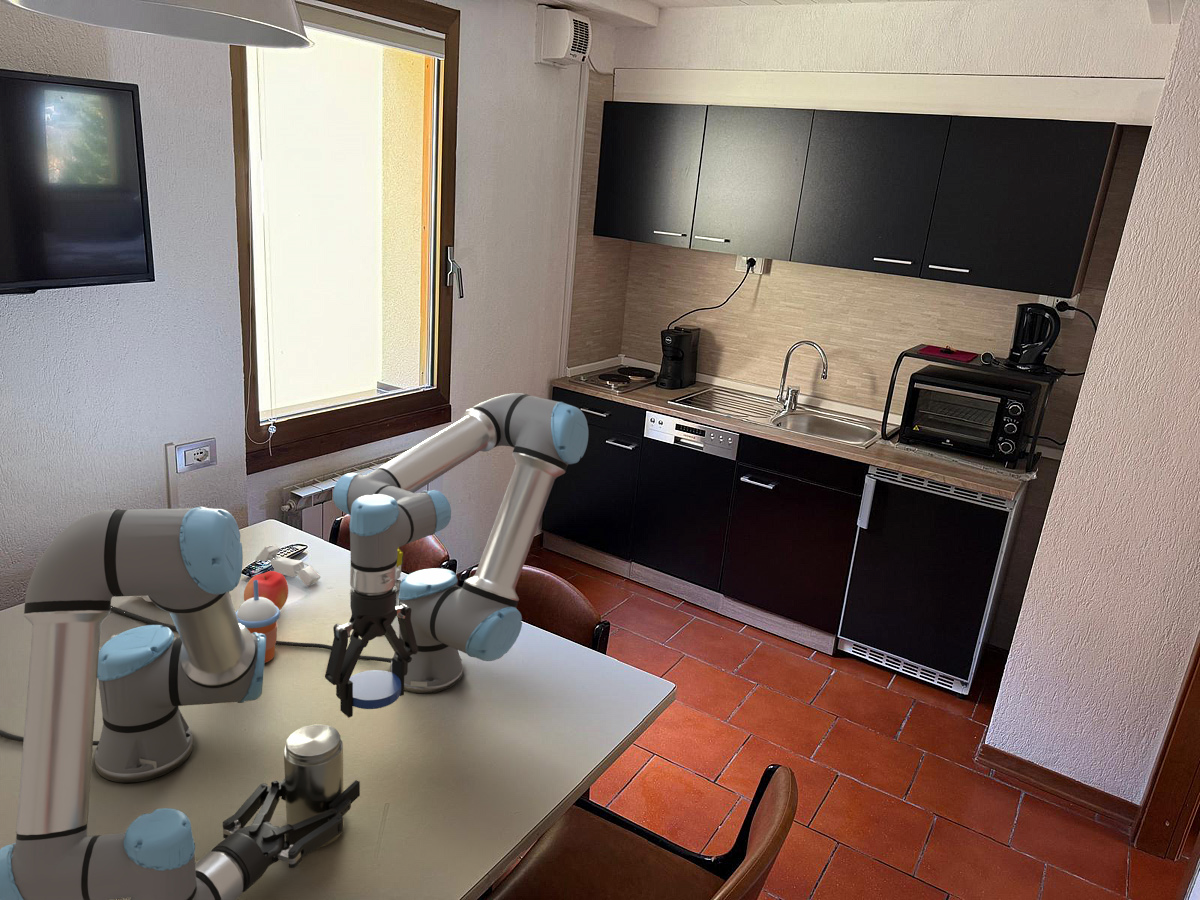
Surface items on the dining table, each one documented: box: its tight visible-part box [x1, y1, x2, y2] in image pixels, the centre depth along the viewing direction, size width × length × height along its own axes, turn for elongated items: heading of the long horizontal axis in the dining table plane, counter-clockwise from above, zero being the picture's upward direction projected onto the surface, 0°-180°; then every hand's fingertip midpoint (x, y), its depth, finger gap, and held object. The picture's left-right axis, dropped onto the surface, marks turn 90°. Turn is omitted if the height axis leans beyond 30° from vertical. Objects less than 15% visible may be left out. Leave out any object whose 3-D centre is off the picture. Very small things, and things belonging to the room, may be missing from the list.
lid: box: [349, 669, 401, 710], centre depth 149 cm, size 10×10×2 cm
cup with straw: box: [235, 580, 281, 664], centre depth 181 cm, size 9×9×18 cm
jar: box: [283, 723, 345, 849], centre depth 135 cm, size 9×9×17 cm
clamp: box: [254, 544, 322, 587], centre depth 219 cm, size 20×4×7 cm, turn 62°
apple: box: [243, 570, 289, 611], centre depth 199 cm, size 10×10×10 cm
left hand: (334, 778), depth 140 cm, fingers closed on jar, 9 cm apart
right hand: (372, 702), depth 150 cm, fingers closed on lid, 9 cm apart
